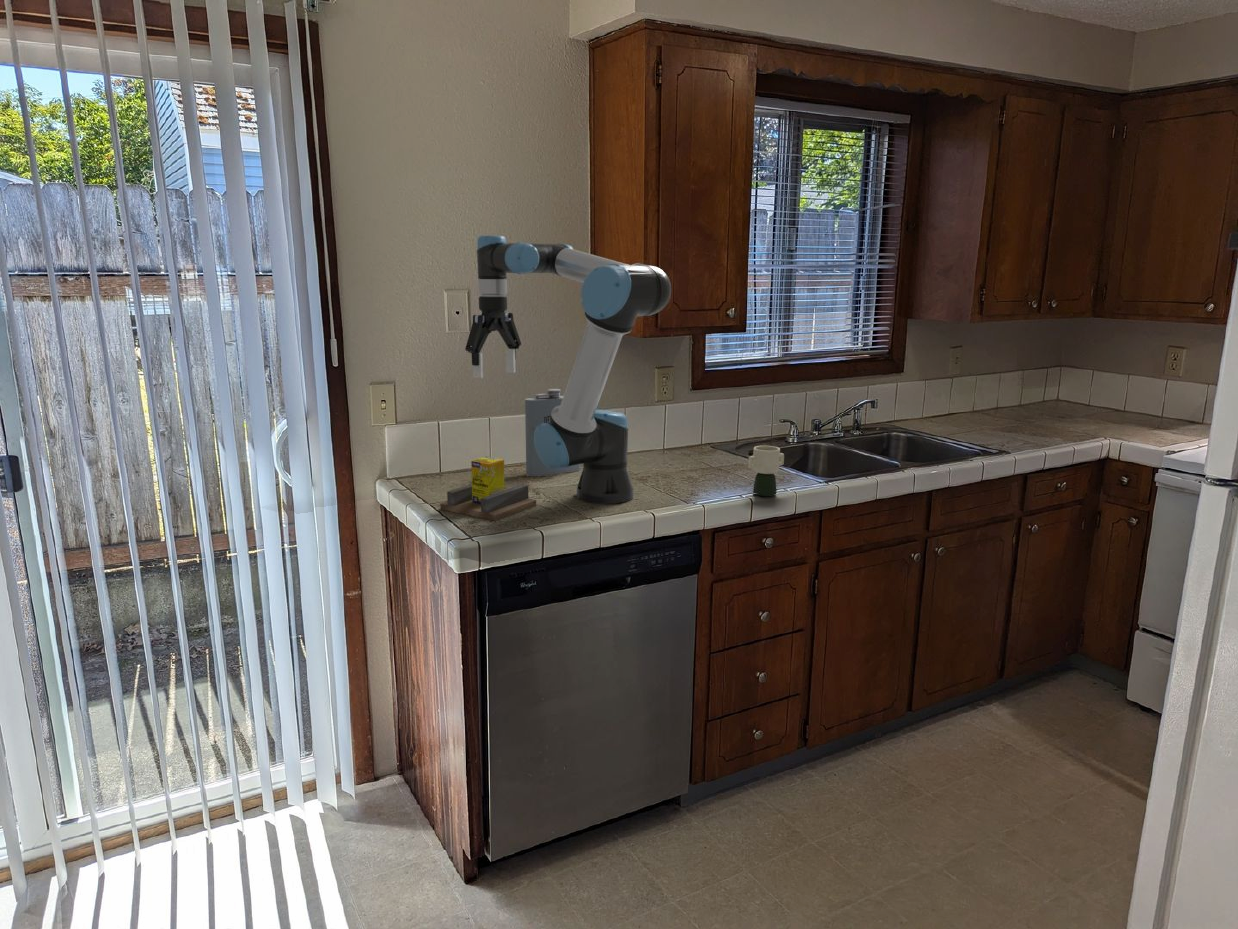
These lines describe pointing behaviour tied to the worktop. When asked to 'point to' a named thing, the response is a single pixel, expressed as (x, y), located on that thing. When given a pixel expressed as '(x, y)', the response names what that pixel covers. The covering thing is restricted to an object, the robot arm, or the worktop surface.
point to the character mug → (765, 468)
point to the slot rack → (488, 502)
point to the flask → (535, 416)
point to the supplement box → (486, 477)
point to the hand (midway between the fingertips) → (494, 375)
